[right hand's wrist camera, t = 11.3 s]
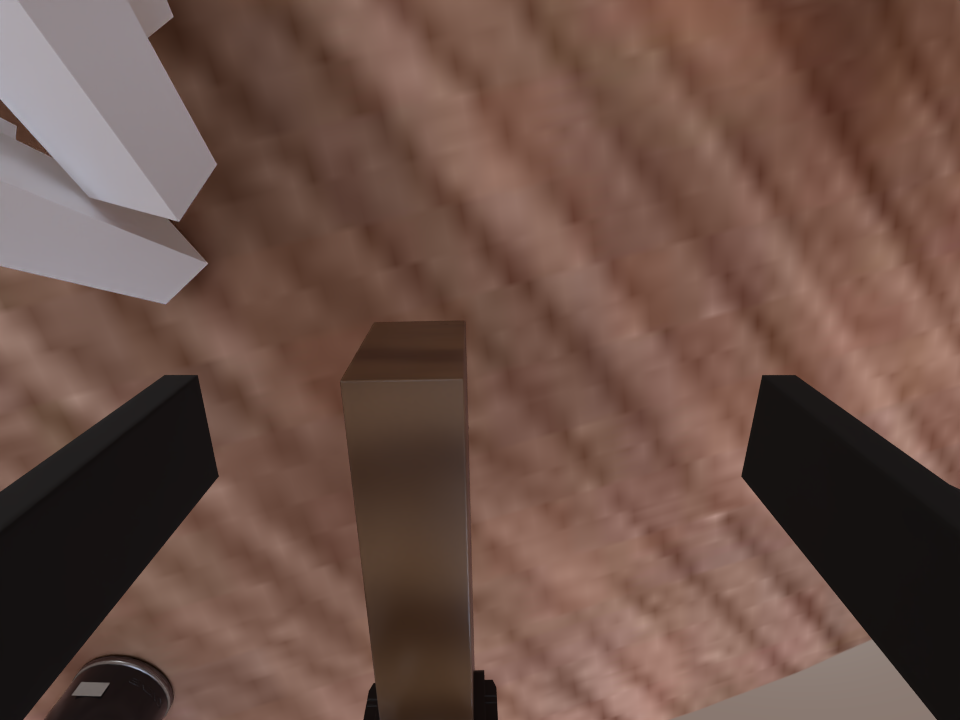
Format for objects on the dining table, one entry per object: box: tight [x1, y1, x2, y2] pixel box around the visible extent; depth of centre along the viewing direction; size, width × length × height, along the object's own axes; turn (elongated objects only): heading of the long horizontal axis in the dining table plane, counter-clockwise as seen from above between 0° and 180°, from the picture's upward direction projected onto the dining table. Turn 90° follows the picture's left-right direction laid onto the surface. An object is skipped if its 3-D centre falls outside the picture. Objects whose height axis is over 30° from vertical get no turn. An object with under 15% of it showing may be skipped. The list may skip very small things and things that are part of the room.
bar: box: [340, 321, 475, 720], centre depth 30 cm, size 25×5×8 cm, turn 1°
